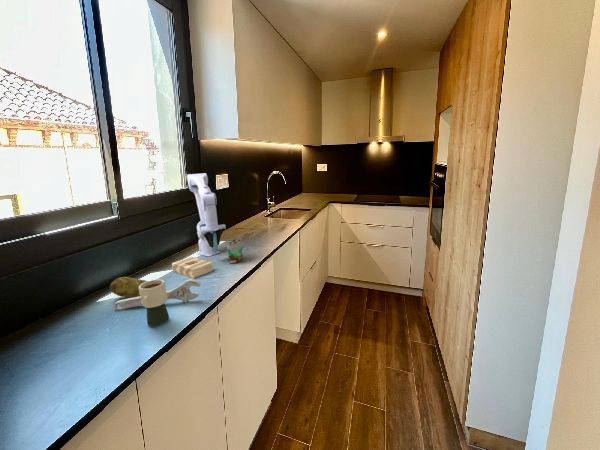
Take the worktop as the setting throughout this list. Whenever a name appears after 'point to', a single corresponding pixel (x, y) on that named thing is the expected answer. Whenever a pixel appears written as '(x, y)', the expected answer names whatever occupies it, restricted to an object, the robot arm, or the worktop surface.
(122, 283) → the potato
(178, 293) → the wrench
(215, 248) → the peg
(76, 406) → the worktop surface
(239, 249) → the food container
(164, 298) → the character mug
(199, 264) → the hole block
